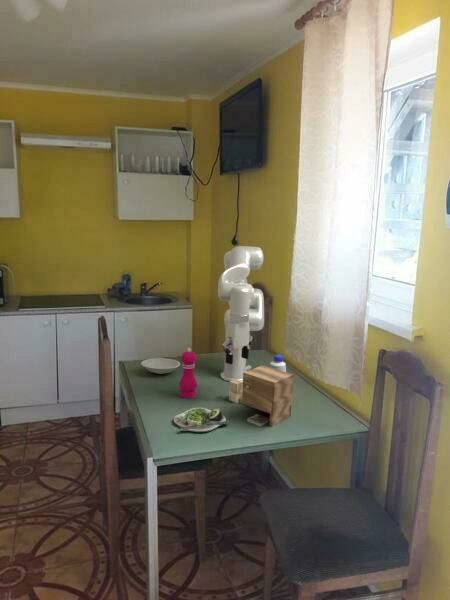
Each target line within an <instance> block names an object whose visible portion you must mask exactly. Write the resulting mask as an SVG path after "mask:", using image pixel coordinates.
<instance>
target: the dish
mask: <svg viewBox="0 0 450 600" xmlns="http://www.w3.org/2000/svg"><path fill="white" fill-rule="evenodd" d="M140 365H141V366H143V368H145V369H146V370H147V371H149V372H151V373H154V374H158V375H163V374H169V373H171V372H173V371H174V370H176V369H177V368H178V367H180V365H181V363H180V362H179V361H178V360H176V359H172V358H164V357H161V358H160V357H158V358H157V357H156V358H148V359H147V358H146V359H144V360H142V361H141V362H140Z"/></svg>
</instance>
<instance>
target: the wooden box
mask: <svg viewBox="0 0 450 600" xmlns="http://www.w3.org/2000/svg"><path fill="white" fill-rule="evenodd" d="M294 376H295V375H294V374H293V373H289V372H287V371H286V372H284V371H280V370H277V369H273V368H270V366H266V365H263V364H262V365H260V366H258V367H255V368H251V369H249V370H247V371H246V372H244V373H243V392H242V403H241V404H243V405H246V406H248V407H250V408H253V409H256V410H258V409H259V411H261V412H264V413H267V414H269V413H270V414H269V419H270V422H269V427H274V426H276V425H278V424H279V423H281V422H282V421H285V420H287V419H289V418H291V415H292V403H293V401H292V400H293V387H294Z"/></svg>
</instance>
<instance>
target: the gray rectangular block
mask: <svg viewBox="0 0 450 600" xmlns="http://www.w3.org/2000/svg"><path fill="white" fill-rule="evenodd" d="M246 419H247V420H246V422H247V423H250V424H253V425H255V426H258V427H262V426H264V425H267V424H268V423H270V417H266V416H264V415H261V414H258V413H255V414H254V415H252V416H250V417H248V418H246Z"/></svg>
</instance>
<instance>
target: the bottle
mask: <svg viewBox="0 0 450 600" xmlns="http://www.w3.org/2000/svg"><path fill="white" fill-rule="evenodd" d="M283 360H284V356H283V355H281V354H276V355H275V356H274V357H273V361H270V364H269V367H270V368H273V369H277V370H280V371H284V372H287V366H286V365H287V364H286V362H285V361H283Z"/></svg>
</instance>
